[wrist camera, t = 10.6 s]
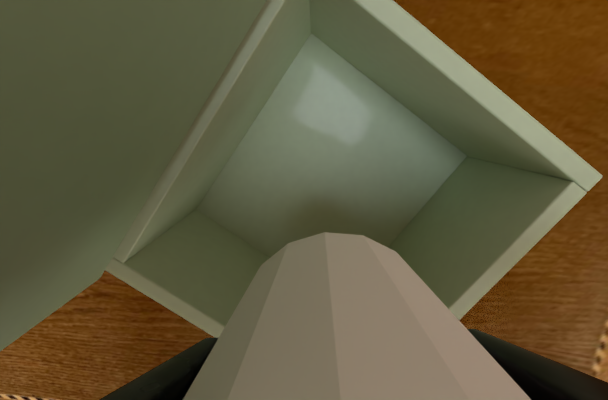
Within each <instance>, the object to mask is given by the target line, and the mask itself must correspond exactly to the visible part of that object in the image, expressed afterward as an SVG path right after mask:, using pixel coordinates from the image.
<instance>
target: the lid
mask: <svg viewBox="0 0 608 400" xmlns="http://www.w3.org/2000/svg"><path fill="white" fill-rule="evenodd" d="M265 2H266V0H0V351H1V350H3V349H4V348H5V347H7V346H8V345H9V344H11V343H12V342H13V341H15V340H16V339H18V338H19V337H20V336H22V335H23V334H24V333H26V332H27V331H28V330H30V329H31V328H33V327H34V326H35V325H37V324H38V323H39V322H41V321H42V320H44V319H45V318H46V317H48V316H49V315H50V314H52V313H53V312H54V311H56V310H57V309H59V308H60V307H61V306H63V305H64V304H65V303H67V302H68V301H69V300H71V299H72V298H74V297H75V296H76V295H78V294H79V293H80V292H82V291H83V290H84V289H86V288H87V287H89V286H90V285H91V284H93V283H94V282H95V281H97V280H98V279H99V278H100V277H101V275H102V274H103V272H104V270H105V269H106V267H107V265H108V264H109V262H110V260H111V259H112V257H113V255H114V254H115V252H116V250H117V249H118V247H119V245H120V244H121V242H122V240H123V239H124V237H125V235H126V234H127V232H128V230H129V229H130V227H131V225H132V224H133V222H134V220H135V219H136V217H137V215H138V214H139V212H140V210H141V209H142V207H143V205H144V204H145V202H146V200H147V199H148V197H149V195H150V194H151V192H152V190H153V189H154V187H155V185H156V184H157V182H158V180H159V179H160V177H161V175H162V174H163V172H164V170H165V169H166V167H167V165H168V164H169V162H170V160H171V159H172V157H173V155H174V154H175V152H176V150H177V149H178V147H179V145H180V144H181V142H182V140H183V139H184V137H185V135H186V134H187V132H188V130H189V129H190V127H191V125H192V124H193V122H194V120H195V119H196V117H197V115H198V114H199V112H200V110H201V109H202V107H203V105H204V104H205V102H206V100H207V99H208V97H209V95H210V94H211V92H212V90H213V89H214V87H215V85H216V84H217V82H218V80H219V79H220V77H221V75H222V74H223V72H224V70H225V69H226V67H227V65H228V64H229V62H230V60H231V59H232V57H233V55H234V54H235V52H236V50H237V49H238V47H239V45H240V44H241V42H242V40H243V39H244V37H245V35H246V34H247V32H248V30H249V29H250V27H251V25H252V24H253V22H254V20H255V19H256V17H257V15H258V14H259V12H260V10H261V9H262V7H263V5H264V4H265Z"/></svg>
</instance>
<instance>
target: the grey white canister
mask: <svg viewBox="0 0 608 400" xmlns="http://www.w3.org/2000/svg"><path fill="white" fill-rule="evenodd" d="M183 400H531V399H530V398H529V397H528V395H527V394H526V393H525V392H524V391H523V390H522V389H521V388H520V387H519V386H518V385H517V383H516V382H515V381H514V380H513V379H512V378H511V377H510V376H509V375H508V374H507V372H506V371H505V370H504V369H503V368H502V367H501V366H500V365H499V364H498V363H497V362H496V360H495V359H494V358H493V357H492V356H491V355H490V354H489V353H488V352H487V351H486V349H485V348H484V347H483V346H482V345H481V344H480V343H479V342H478V341H477V340H476V339H475V337H474V336H473V335H472V334H471V333H470V332H469V331H468V330H467V329H466V328H465V327H464V325H463V324H462V323H461V322H460V321H459V320H458V319H457V318H456V317H455V316H454V314H453V313H452V312H451V311H450V310H449V309H448V308H447V307H446V306H445V305H444V304H443V302H442V301H441V300H440V299H439V298H438V297H437V296H436V295H435V294H434V293H433V291H432V290H431V289H430V288H429V287H428V286H427V285H426V284H425V283H424V282H423V281H422V279H421V278H420V277H419V276H418V275H417V274H416V273H415V272H414V271H413V270H412V268H411V267H410V266H409V265H408V264H407V263H406V262H405V261H404V260H403V259H402V258H401V256H400V255H399V254H398V253H397V252H396V251H394V250H392V249H390V248H388V247H386V246H384V245H382V244H380V243H378V242H376V241H374V240H372V239H370V238H367V237H365V236H363V235H354V234H341V233H329V232H324V233H320V234H317V235H314V236H310V237H307V238H304V239H300V240H297V241H293V242H290V243H288V244H287V245H285V246H284V247H283V248H282V249H280V250H279V251H278V252H277V253H275V254H274V255H273V256H272V257H270V258H269V259H268V260H267V261H266V262H264V263H263V264H262V265H261V266H260V268H259V269H258V271H257V273H256V275H255V276H254V278H253V280H252V282H251V283H250V285H249V287H248V288H247V290H246V292H245V294H244V295H243V297H242V299H241V300H240V302H239V304H238V306H237V307H236V309H235V311H234V312H233V314H232V316H231V318H230V319H229V321H228V323H227V324H226V326H225V328H224V330H223V331H222V333H221V335H220V337H219V338H218V340H217V342H216V343H215V345H214V347H213V349H212V350H211V352H210V354H209V355H208V357H207V359H206V361H205V362H204V364H203V366H202V367H201V369H200V371H199V373H198V374H197V376H196V378H195V380H194V381H193V383H192V385H191V386H190V388H189V390H188V392H187V393H186V395H185V397H184V398H183Z"/></svg>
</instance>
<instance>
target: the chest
mask: <svg viewBox="0 0 608 400" xmlns="http://www.w3.org/2000/svg"><path fill="white" fill-rule="evenodd" d="M601 178H602V175H601V174H600V173H599V172H598V171H596V170H595V169H594V168H593V167H592V166H590V165H589V164H588V163H587V162H586V161H585V160H583V159H582V158H581V157H580V156H579V155H577V154H576V153H575V152H574V151H573V150H571V149H570V148H569V147H568V146H567V145H565V144H564V143H563V142H562V141H561V140H559V139H558V138H557V137H556V136H555V135H553V134H552V133H551V132H550V131H549V130H547V129H546V128H545V127H544V126H543V125H541V124H540V123H539V122H538V121H537V120H536V119H534V118H533V117H532V116H531V115H530V114H528V113H527V112H526V111H525V110H524V109H522V108H521V107H520V106H519V105H518V104H516V103H515V102H514V101H513V100H512V99H510V98H509V97H508V96H507V95H506V94H504V93H503V92H502V91H501V90H500V89H498V88H497V87H496V86H495V85H494V84H492V83H491V82H490V81H489V80H488V79H486V78H485V77H484V76H483V75H482V74H481V73H479V72H478V71H477V70H476V69H475V68H473V67H472V66H471V65H470V64H469V63H467V62H466V61H465V60H464V59H463V58H461V57H460V56H459V55H458V54H457V53H455V52H454V51H453V50H452V49H451V48H449V47H448V46H447V45H446V44H445V43H443V42H442V41H441V40H440V39H439V38H437V37H436V36H435V35H434V34H433V33H432V32H430V31H429V30H428V29H427V28H426V27H424V26H423V25H422V24H421V23H420V22H418V21H417V20H416V19H415V18H414V17H412V16H411V15H410V14H409V13H408V12H406V11H405V10H404V9H403V8H402V7H400V6H399V5H398V4H397V3H396V2H394V1H393V0H266V2H265V4H264V5H263V7H262V9H261V10H260V12H259V14H258V15H257V17H256V19H255V20H254V22H253V24H252V25H251V27H250V29H249V30H248V32H247V34H246V35H245V37H244V39H243V40H242V42H241V44H240V45H239V47H238V49H237V50H236V52H235V54H234V55H233V57H232V59H231V60H230V62H229V64H228V65H227V67H226V69H225V70H224V72H223V74H222V75H221V77H220V79H219V80H218V82H217V84H216V85H215V87H214V89H213V90H212V92H211V94H210V95H209V97H208V99H207V100H206V102H205V104H204V105H203V107H202V109H201V110H200V112H199V114H198V115H197V117H196V119H195V120H194V122H193V124H192V125H191V127H190V129H189V130H188V132H187V134H186V135H185V137H184V139H183V140H182V142H181V144H180V145H179V147H178V149H177V150H176V152H175V154H174V155H173V157H172V159H171V160H170V162H169V164H168V165H167V167H166V169H165V170H164V172H163V174H162V175H161V177H160V179H159V180H158V182H157V184H156V185H155V187H154V189H153V190H152V192H151V194H150V195H149V197H148V199H147V200H146V202H145V204H144V205H143V207H142V209H141V210H140V212H139V214H138V215H137V217H136V219H135V220H134V222H133V224H132V225H131V227H130V229H129V230H128V232H127V234H126V235H125V237H124V239H123V240H122V242H121V244H120V245H119V247H118V249H117V250H116V252H115V254H114V255H113V257H112V259H111V260H110V262H109V264H108V265H107V267H106V269H105V270H106V271H108V272H109V273H111V274H112V275H114V276H116V277H117V278H119V279H121V280H122V281H124V282H126V283H127V284H129V285H130V286H132V287H134V288H135V289H137V290H139V291H140V292H142V293H143V294H145V295H147V296H148V297H150V298H152V299H153V300H155V301H157V302H158V303H160V304H161V305H163V306H165V307H166V308H168V309H170V310H171V311H173V312H174V313H176V314H178V315H179V316H181V317H183V318H184V319H186V320H188V321H189V322H191V323H192V324H194V325H196V326H197V327H199V328H201V329H202V330H204V331H205V332H207V333H209V334H210V335H212V336H214V337H215V338H219V337H220V335H221V333H222V331H223V330H224V328H225V326H226V324H227V323H228V321H229V319H230V318H231V316H232V314H233V312H234V311H235V309H236V307H237V306H238V304H239V302H240V300H241V299H242V297H243V295H244V294H245V292H246V290H247V288H248V287H249V285H250V283H251V282H252V280H253V278H254V276H255V275H256V273H257V271H258V269H259V268H260V266H261V265H262V264H263V263H264V262H266V261H267V260H268V259H269V258H270V257H272V256H273V255H274V254H275V253H277V252H278V251H279V250H280V249H282V248H283V247H284V246H285V245H287V244H288V243H290V242H293V241H297V240H300V239H304V238H307V237H310V236H314V235H317V234H320V233H324V232H329V233H341V234H354V235H363V236H365V237H367V238H370V239H372V240H374V241H376V242H378V243H380V244H382V245H384V246H386V247H388V248H390V249H392V250H394V251H396V252H397V253H398V254H399V255H400V256H401V258H402V259H403V260H404V261H405V262H406V263H407V264H408V265H409V266H410V267H411V268H412V270H413V271H414V272H415V273H416V274H417V275H418V276H419V277H420V278H421V279H422V281H423V282H424V283H425V284H426V285H427V286H428V287H429V288H430V289H431V290H432V291H433V293H434V294H435V295H436V296H437V297H438V298H439V299H440V300H441V301H442V302H443V304H444V305H445V306H446V307H447V308H448V309H449V310H450V311H451V312H452V313H453V314H454V316H455V317H456V318H457V319H458V320H460V319H461V318H462V317H463V316H464V315H465V314H466V313H467V312H468V311H469V310H470V309H471V308H472V307H473V306H474V305H475V304H476V303H477V302H478V301H479V300H480V299H481V298H482V297H483V296H484V295H485V294H486V293H487V292H488V291H489V290H490V289H491V288H492V287H493V286H494V285H495V284H496V283H497V282H498V281H499V280H500V279H501V278H502V277H503V276H504V275H505V274H506V273H507V272H508V271H509V270H510V269H511V268H512V267H513V266H514V265H515V264H516V263H517V262H518V261H519V260H520V259H521V258H522V257H523V256H524V255H525V254H526V253H527V252H528V251H529V250H530V249H531V248H532V247H533V246H534V245H535V244H536V243H537V242H538V241H539V240H540V239H541V238H542V237H543V236H544V235H545V234H546V233H547V232H548V231H549V230H550V229H551V228H552V227H553V226H554V225H555V224H556V223H557V222H558V221H559V220H560V219H561V218H562V217H563V216H564V215H565V214H566V213H567V212H568V211H569V210H570V209H571V208H572V207H573V206H574V205H575V204H576V203H577V202H578V201H579V200H580V199H581V198H582V197H583V196H584V195H585V194H586V191H589V190H590V189H591V188H592V187H593V186H594V185H595V184H596V183H597V182H598V181H599V180H600V179H601Z"/></svg>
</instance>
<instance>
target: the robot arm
mask: <svg viewBox="0 0 608 400" xmlns="http://www.w3.org/2000/svg"><path fill="white" fill-rule="evenodd" d="M467 330H468V331H469V332H470V333H471V334H472V335H473V336H474V337H475V339H476V340H477V341H478V342H479V343H480V344H481V345H482V346H483V347H484V348H485V349H486V351H487V352H488V353H489V354H490V355H491V356H492V357H493V358H494V359H495V360H496V362H497V363H498V364H499V365H500V366H501V367H502V368H503V369H504V370H505V371H506V372H507V374H508V375H509V376H510V377H511V378H512V379H513V380H514V381H515V382H516V383H517V385H518V386H519V387H520V388H521V389H522V390H523V391H524V392H525V393H526V394H527V395H528V397H529V398H530V399H531V400H608V383H607V382H605V381H602V380H600V379H597V378H595V377H592V376H590V375H587V374H585V373H582V372H580V371H578V370H575V369H573V368H570V367H568V366H565V365H563V364H560V363H558V362H555V361H553V360H550V359H548V358H545V357H543V356H541V355H538V354H536V353H533V352H531V351H528V350H526V349H523V348H521V347H518V346H516V345H513V344H511V343H508V342H506V341H504V340H501V339H499V338H496V337H494V336H491V335H489V334H486V333H484V332H481V331H479V330H476V329H467ZM217 340H218V338H206V339H204V340H202V341H200V342H199V343H197V344H195V345H193V346H192V347H190V348H188V349H186V350H185V351H183V352H181V353H180V354H178V355H176V356H174V357H173V358H171V359H169V360H167V361H166V362H164V363H162V364H160V365H159V366H157V367H155V368H153V369H152V370H150V371H148V372H147V373H145V374H143V375H141V376H140V377H138V378H136V379H134V380H133V381H131V382H129V383H127V384H126V385H124V386H122V387H120V388H119V389H117V390H115V391H114V392H112V393H110V394H108V395H107V396H105V397H103V398H101V399H100V400H183V398H184V397H185V395H186V393H187V392H188V390H189V388H190V386H191V385H192V383H193V381H194V380H195V378H196V376H197V374H198V373H199V371H200V369H201V367H202V366H203V364H204V362H205V361H206V359H207V357H208V355H209V354H210V352H211V350H212V349H213V347H214V345H215V343H216V342H217Z"/></svg>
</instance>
